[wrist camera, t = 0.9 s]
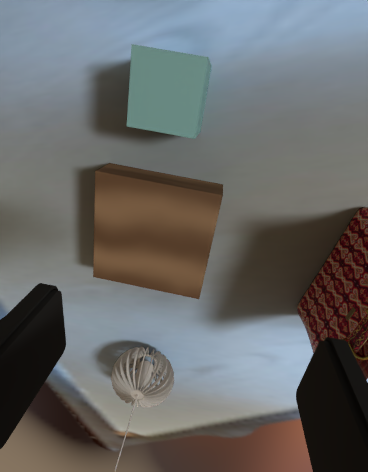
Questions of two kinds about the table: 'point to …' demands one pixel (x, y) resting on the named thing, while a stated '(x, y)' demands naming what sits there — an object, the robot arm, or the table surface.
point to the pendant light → (142, 379)
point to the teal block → (167, 91)
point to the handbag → (342, 293)
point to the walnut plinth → (153, 228)
